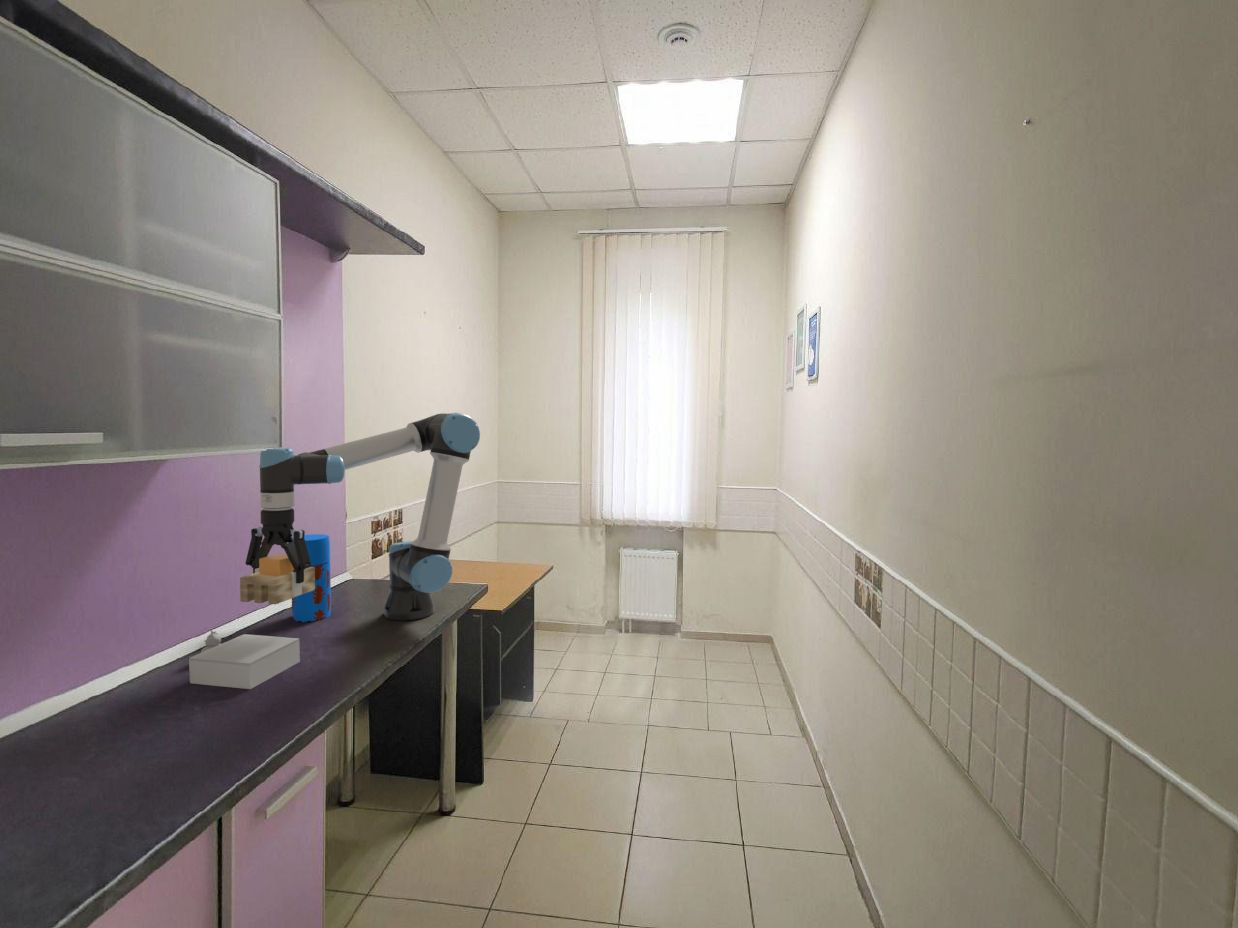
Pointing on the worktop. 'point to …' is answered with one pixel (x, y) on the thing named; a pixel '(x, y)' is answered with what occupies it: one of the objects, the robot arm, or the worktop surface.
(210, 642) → the white lumpy piece
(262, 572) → the orange square block
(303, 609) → the thermos
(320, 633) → the worktop surface
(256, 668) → the dock
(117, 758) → the worktop surface
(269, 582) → the pallet
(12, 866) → the worktop surface
